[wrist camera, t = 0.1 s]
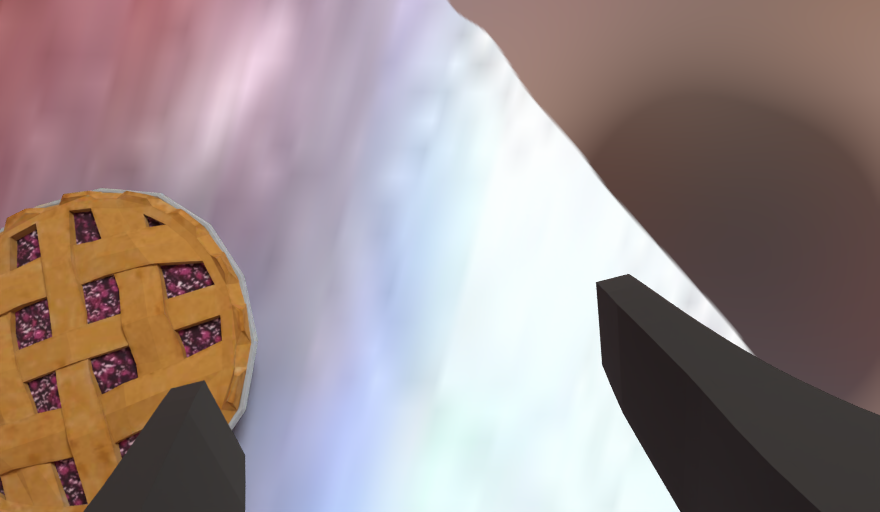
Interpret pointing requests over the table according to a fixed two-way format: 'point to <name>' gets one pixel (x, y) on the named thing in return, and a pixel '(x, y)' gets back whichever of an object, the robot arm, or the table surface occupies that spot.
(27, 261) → the pie
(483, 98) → the table surface
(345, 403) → the table surface
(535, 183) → the table surface
